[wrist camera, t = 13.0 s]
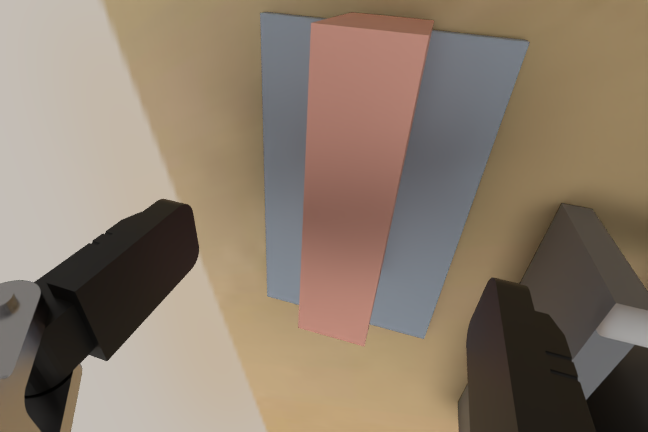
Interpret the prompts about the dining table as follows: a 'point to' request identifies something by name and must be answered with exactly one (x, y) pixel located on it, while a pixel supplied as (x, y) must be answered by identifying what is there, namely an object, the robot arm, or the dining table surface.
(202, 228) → the dining table surface
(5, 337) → the robot arm
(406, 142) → the pink rectangular block
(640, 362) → the dispenser
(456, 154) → the rubber mat
